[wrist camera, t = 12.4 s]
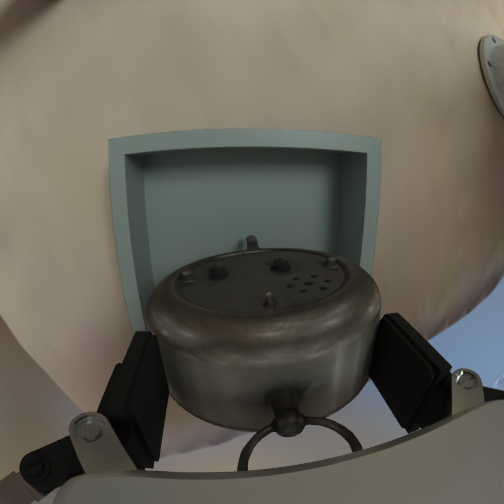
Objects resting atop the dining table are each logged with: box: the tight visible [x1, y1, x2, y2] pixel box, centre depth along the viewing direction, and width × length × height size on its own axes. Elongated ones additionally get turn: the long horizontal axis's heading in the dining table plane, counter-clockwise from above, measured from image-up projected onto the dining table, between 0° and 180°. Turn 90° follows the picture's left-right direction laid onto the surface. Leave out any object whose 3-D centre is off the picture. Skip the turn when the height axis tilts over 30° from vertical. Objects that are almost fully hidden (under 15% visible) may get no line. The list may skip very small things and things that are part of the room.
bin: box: [108, 129, 381, 337], centre depth 19 cm, size 16×18×5 cm
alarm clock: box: [145, 235, 381, 471], centre depth 12 cm, size 11×5×16 cm, turn 94°
